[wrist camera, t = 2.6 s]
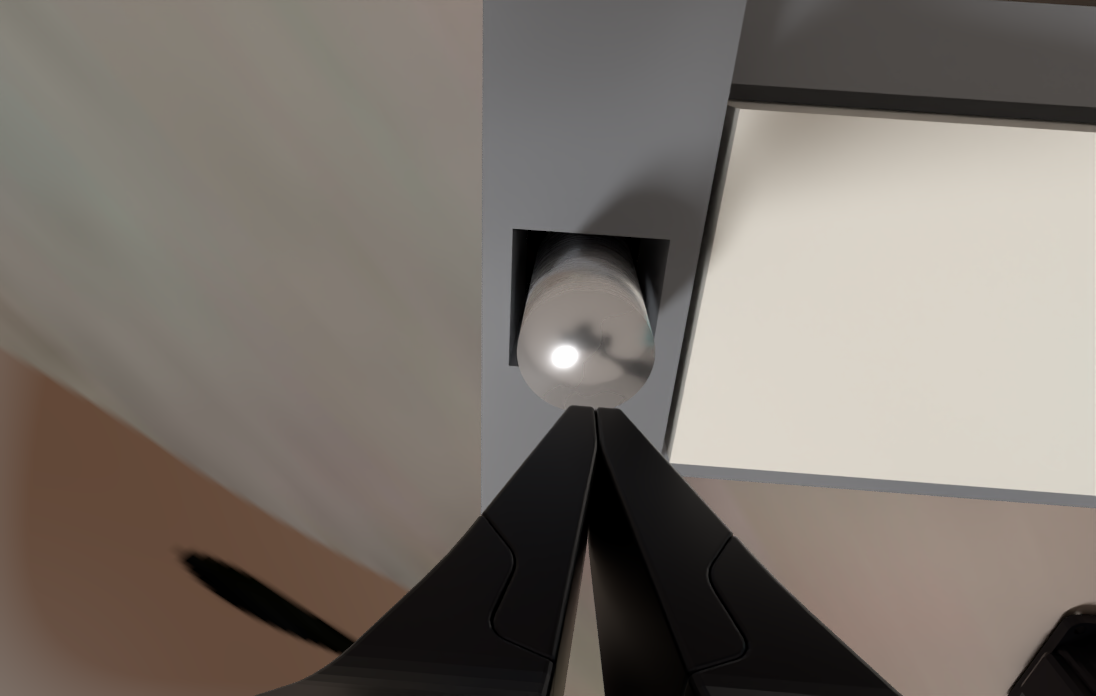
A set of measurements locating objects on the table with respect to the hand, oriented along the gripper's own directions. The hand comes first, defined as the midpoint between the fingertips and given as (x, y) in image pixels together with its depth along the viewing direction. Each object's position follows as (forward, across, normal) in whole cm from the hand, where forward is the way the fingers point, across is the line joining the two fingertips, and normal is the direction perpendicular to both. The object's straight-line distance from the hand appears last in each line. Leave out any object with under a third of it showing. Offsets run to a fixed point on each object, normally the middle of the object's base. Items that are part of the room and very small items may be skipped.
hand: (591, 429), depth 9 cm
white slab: (+9, -11, 0) cm, 14 cm away
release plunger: (+8, 0, 0) cm, 8 cm away
